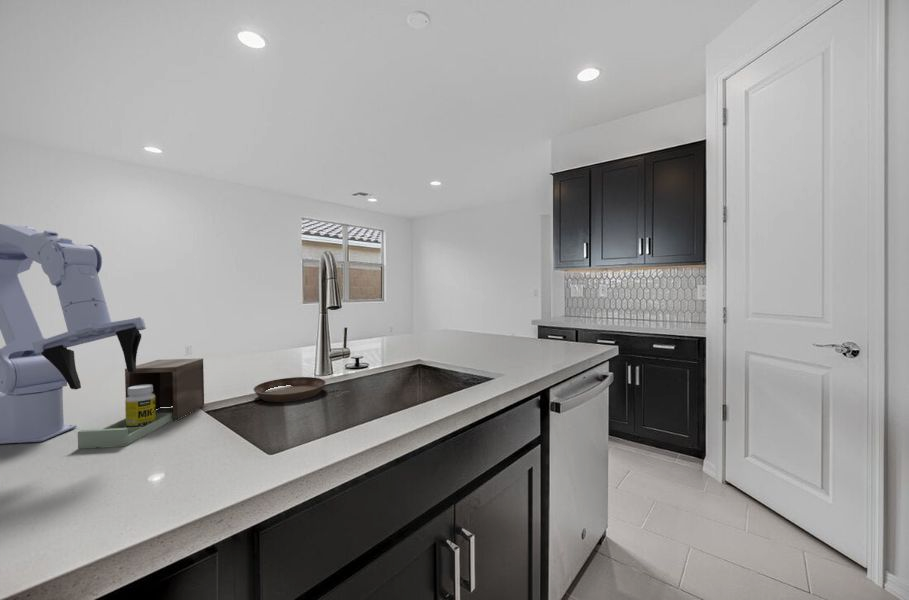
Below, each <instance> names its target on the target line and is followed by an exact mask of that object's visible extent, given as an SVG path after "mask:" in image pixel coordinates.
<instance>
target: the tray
mask: <svg viewBox="0 0 909 600" xmlns="http://www.w3.org/2000/svg"><path fill="white" fill-rule="evenodd" d="M172 419H173V420H174V416H173V412H156V421H154V422H152V423H150V424H148V425H146V426H144V427H128V428H126V417H124V418H123V419H121V420H118V421H117V422H115V423H112V424H110V425H108V426H105V427H103V428H100V429H98V428H97V429H81V430H79V431H77V449H78V450H79V449H80V450H82V449H97V448H96V447H102V448H116V447H117V448H118V447H127V445H128V446H129V445H131V444H132V443H133V442H136V441H137V440H140V439H141V438H143V437H144V436H147V435H148V434H150V433H152V432H154V431H155V430H158V429H159V428H162V427H163V426H164V424H165V425H167V424H168V423H170V422H172V421H173V420H172ZM171 420H172V421H171ZM169 421H170V422H169ZM167 422H168V423H167ZM166 423H167V424H166ZM162 425H163V426H162Z"/></svg>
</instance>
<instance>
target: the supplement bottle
mask: <svg viewBox="0 0 909 600" xmlns="http://www.w3.org/2000/svg"><path fill="white" fill-rule="evenodd" d="M152 392H153V385H151V384H145V385H137V386H132V387H129V388H128V395H129V397H127V398H126V397H125V401H124V403H125V408H124V409H125V418H126V427H125V428H128V427H144V426H146V425H148V424H150V423H152V422H154V421H156V413H157V411H156V406H155V395H154V394H152Z"/></svg>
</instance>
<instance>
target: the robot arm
mask: <svg viewBox="0 0 909 600" xmlns="http://www.w3.org/2000/svg"><path fill="white" fill-rule="evenodd" d="M102 258H103V257H102V254H101V251H100V249H99V248H97V247H96V246H95V245H94V244H86V245H85V244H77V243H74V242H73V240H72V239H70V238H66V237H60V236H59V233H58V232H56V231H51V230H44V231H43V232H37V228H35V227H32V226H22V225H12V224H3V223H2V224H1V223H0V332H1V335H2V338H3V340H4V343H5V345H4V346H2V348H0V444H15V443H16V444H17V443H22V444H23V443H37V442H44V441H47V440H49V439H51V438H53V437H55V436H59V435H61V434H63V433H65V432H67V431H70V430H72V429H75V428H77V424H67V425H66V424H65V423H64V390H63V389H64V387H67V386H69V388H70V390H79V389H82V385H81V381H80V378H79V375H78V372H77V368H76V359H75V351H74V350H72V349H68V348H71V347H75V346H79V345H83V344H87V343H91V342H95V341H99V340H103V339H106V338H110V337H115V336H116V337H117V340H118V342H119V345H120V347H121V350H122V353H123V356H124V357H123V358H124V362H125V366H126V368H127V370H128V372H130V373H134V372H136V366H137V357H138V349H139V346H140V343H141V340H142V333H140V331H143V330H146V329H147V327H146V324H145V320H144V319H143V318H142V317H141V316H139V317H135V318H129V319H124V320H118V321H117V320H115V321H112V320H111V319H112V318H111V315H110V313H109V309H108V306H107V301H106V298H105V294H104V291H103V288H102V284H101V280H100V277H99V273H100V271H101V270H102V269H101V268H102V264H103V260H102ZM34 262H36V263H38V264H40V265H41V269H42V271H43V273H44V274H45V275H46V276H47V277H48V279H49V282H50V284H51V286H54V287H55V288H56V292H57V296H58V300H59V303H60V307H61V311H62V314H63V317H64V322H65V326H66V330H67V331H66V332H62V333H60V334H57V335H54V336H50V337H48V338H46V337H44V336H43V333H42V331H41V329H40V327H39V323H38V321H37V319H36V317H35V314H34V312H33V310H32V307H31V304H30V302H29V300H28V298H27V295H26V292H25V290H24V288H23V285H22V283H21V281H20V278H19V276H18V275H19V274H22V273H25V272H26V271H29V270H30V269H31V266H32V264H33V263H34ZM64 424H65V425H64Z"/></svg>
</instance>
